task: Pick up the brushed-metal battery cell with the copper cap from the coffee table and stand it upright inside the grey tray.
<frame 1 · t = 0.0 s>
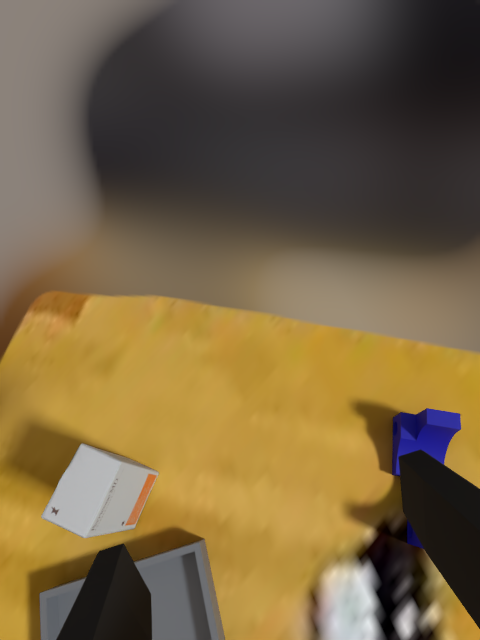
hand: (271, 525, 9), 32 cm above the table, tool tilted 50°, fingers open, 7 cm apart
grey tray: (139, 630, 35), on the table
skincare box: (132, 491, 40), on the table
cable clip: (413, 479, 39), on the table
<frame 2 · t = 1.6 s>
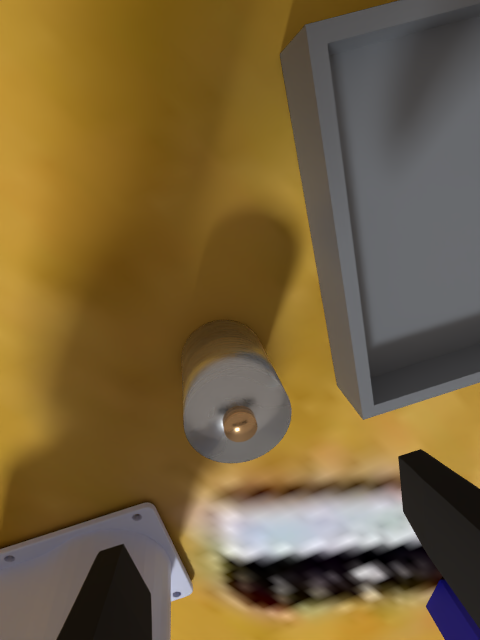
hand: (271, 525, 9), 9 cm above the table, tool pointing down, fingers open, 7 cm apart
grey tray: (427, 215, 17), on the table
cell: (222, 357, 18), on the table
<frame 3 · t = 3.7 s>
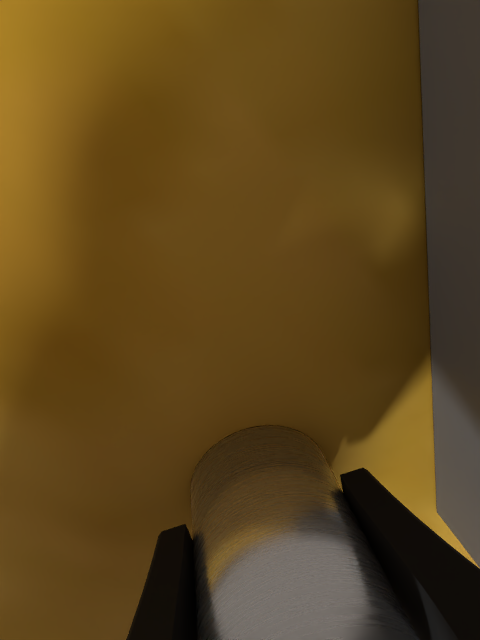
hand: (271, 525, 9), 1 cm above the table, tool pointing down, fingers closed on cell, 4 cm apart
cell: (260, 482, 11), on the table, touching gripper
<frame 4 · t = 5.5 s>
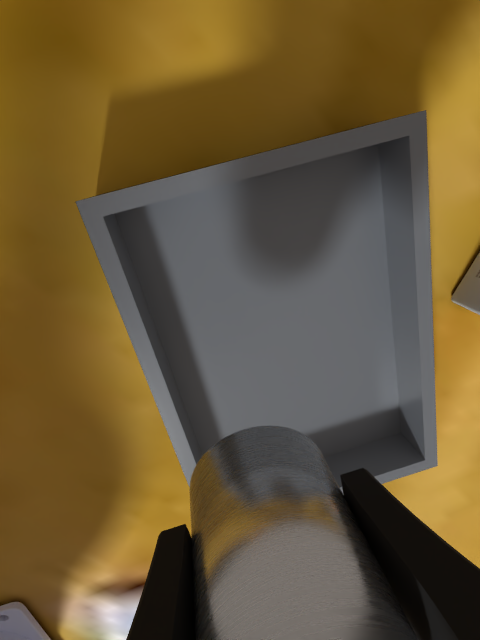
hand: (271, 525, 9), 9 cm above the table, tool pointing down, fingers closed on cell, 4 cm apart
grey tray: (278, 333, 17), on the table
cell: (259, 482, 11), point 7 cm above the table, touching gripper
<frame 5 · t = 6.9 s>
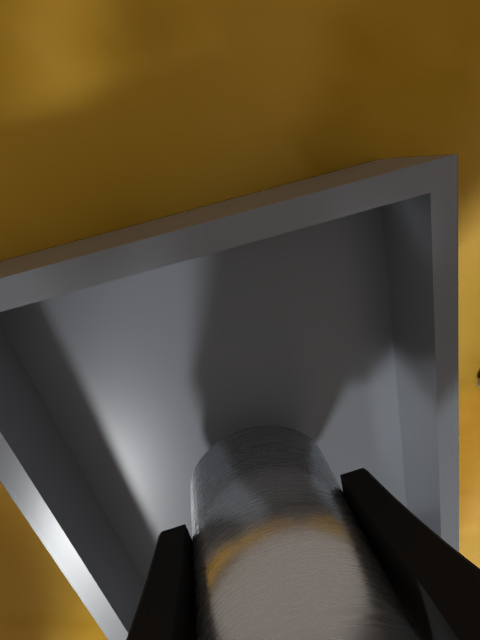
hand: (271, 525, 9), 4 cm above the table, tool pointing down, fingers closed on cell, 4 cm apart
grey tray: (246, 434, 13), on the table
cell: (259, 482, 11), point 2 cm above the table, touching gripper
when the fingers open (3 cm above the table, at t = 7.8 s): cell stays where it is, resting on grey tray.
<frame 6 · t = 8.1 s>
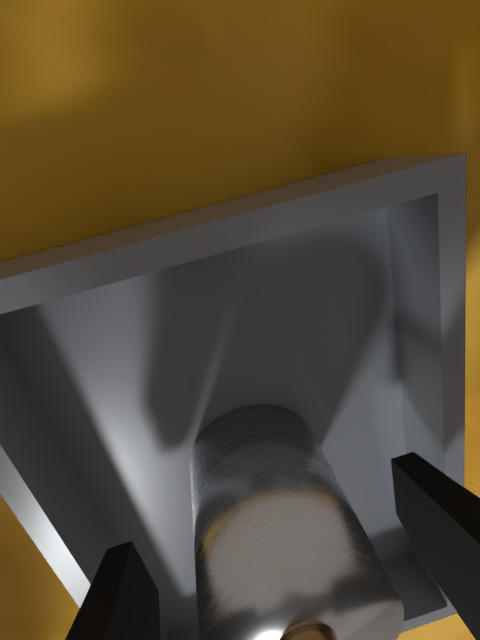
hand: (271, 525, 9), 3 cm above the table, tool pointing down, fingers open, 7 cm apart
grey tray: (248, 438, 13), on the table
cell: (254, 458, 12), point 1 cm above the table, touching grey tray
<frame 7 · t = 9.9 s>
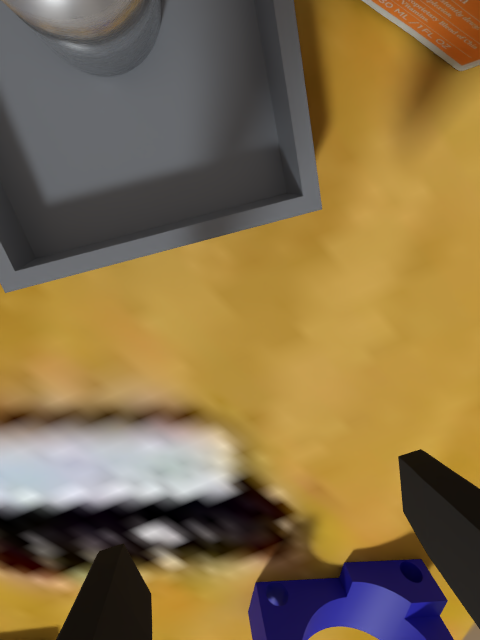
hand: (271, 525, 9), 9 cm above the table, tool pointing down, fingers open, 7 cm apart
grey tray: (101, 15, 13), on the table
cell: (95, 1, 12), point 1 cm above the table, touching grey tray
cable clip: (334, 579, 26), on the table
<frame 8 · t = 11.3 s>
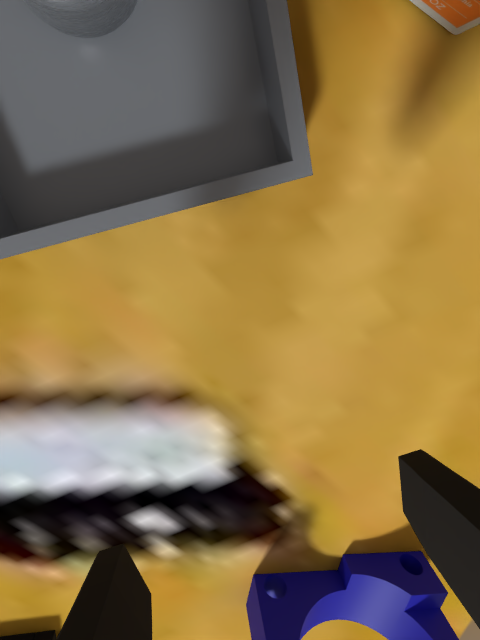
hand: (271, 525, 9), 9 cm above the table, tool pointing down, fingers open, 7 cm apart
cable clip: (333, 572, 26), on the table
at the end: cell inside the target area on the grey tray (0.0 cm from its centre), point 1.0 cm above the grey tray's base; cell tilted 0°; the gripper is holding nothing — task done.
